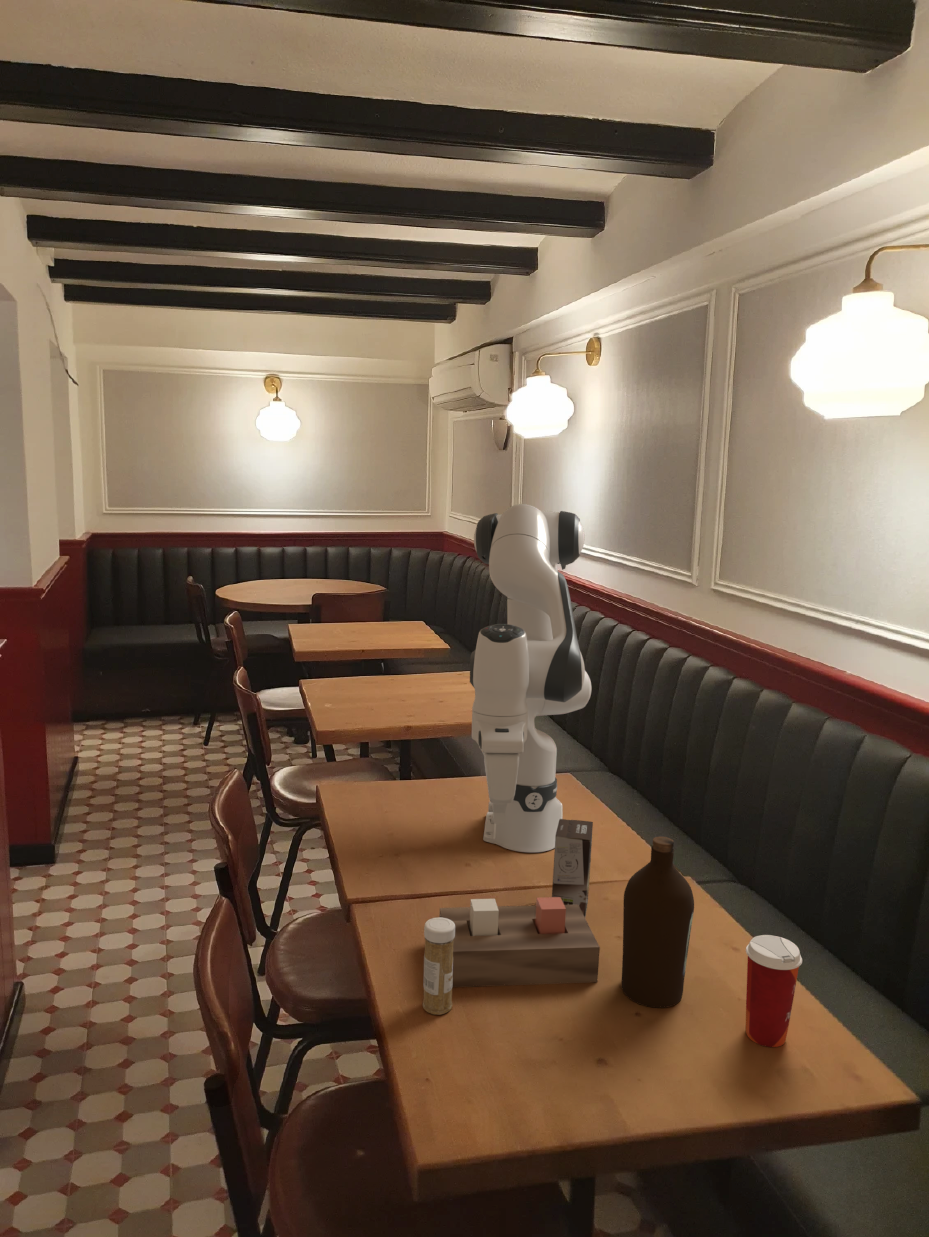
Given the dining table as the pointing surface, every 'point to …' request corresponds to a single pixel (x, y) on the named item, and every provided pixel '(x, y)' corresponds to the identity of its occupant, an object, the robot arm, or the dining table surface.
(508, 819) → the robot arm
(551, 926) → the red plug
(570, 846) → the coffee box
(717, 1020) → the dining table surface
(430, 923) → the spice jar
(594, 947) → the socket block
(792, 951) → the paper cup
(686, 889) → the olive oil
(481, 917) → the white plug
